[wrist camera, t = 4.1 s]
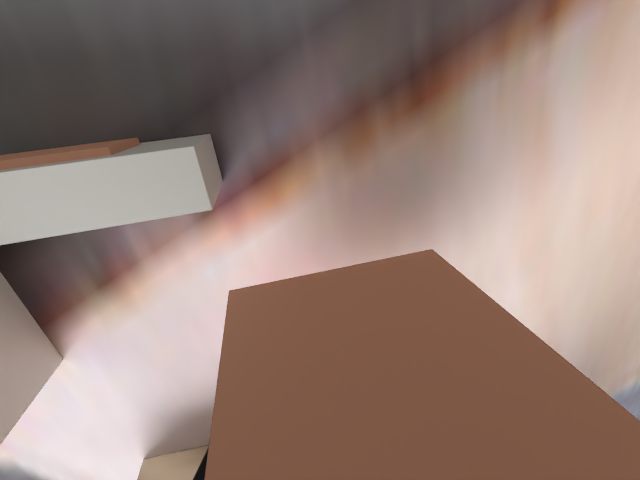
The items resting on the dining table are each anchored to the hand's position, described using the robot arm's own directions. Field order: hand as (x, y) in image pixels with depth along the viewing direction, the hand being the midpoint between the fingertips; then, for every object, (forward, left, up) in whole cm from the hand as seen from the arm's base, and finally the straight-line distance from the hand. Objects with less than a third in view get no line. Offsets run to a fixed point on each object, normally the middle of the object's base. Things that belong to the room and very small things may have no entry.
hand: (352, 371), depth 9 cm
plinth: (+7, -6, -5) cm, 10 cm away
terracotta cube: (0, 0, -1) cm, 1 cm away
